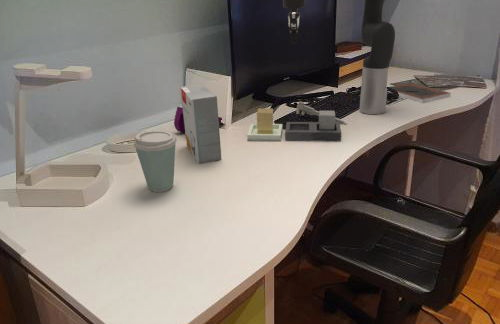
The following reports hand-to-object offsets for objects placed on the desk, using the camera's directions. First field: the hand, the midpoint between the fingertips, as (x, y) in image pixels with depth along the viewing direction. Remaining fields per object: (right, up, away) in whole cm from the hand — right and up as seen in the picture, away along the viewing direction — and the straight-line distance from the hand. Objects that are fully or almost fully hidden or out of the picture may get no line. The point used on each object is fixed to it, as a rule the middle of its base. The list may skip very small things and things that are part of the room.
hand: (293, 42), depth 144 cm
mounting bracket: (-32, -30, +6) cm, 45 cm away
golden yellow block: (-10, -32, -3) cm, 34 cm away
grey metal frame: (+6, -33, -4) cm, 34 cm away
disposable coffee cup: (-39, -49, -34) cm, 71 cm away
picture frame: (+57, -13, +36) cm, 69 cm away
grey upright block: (+10, -33, -5) cm, 35 cm away
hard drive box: (-30, -39, -14) cm, 51 cm away
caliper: (+11, -27, +10) cm, 30 cm away
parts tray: (-10, -32, -2) cm, 34 cm away
